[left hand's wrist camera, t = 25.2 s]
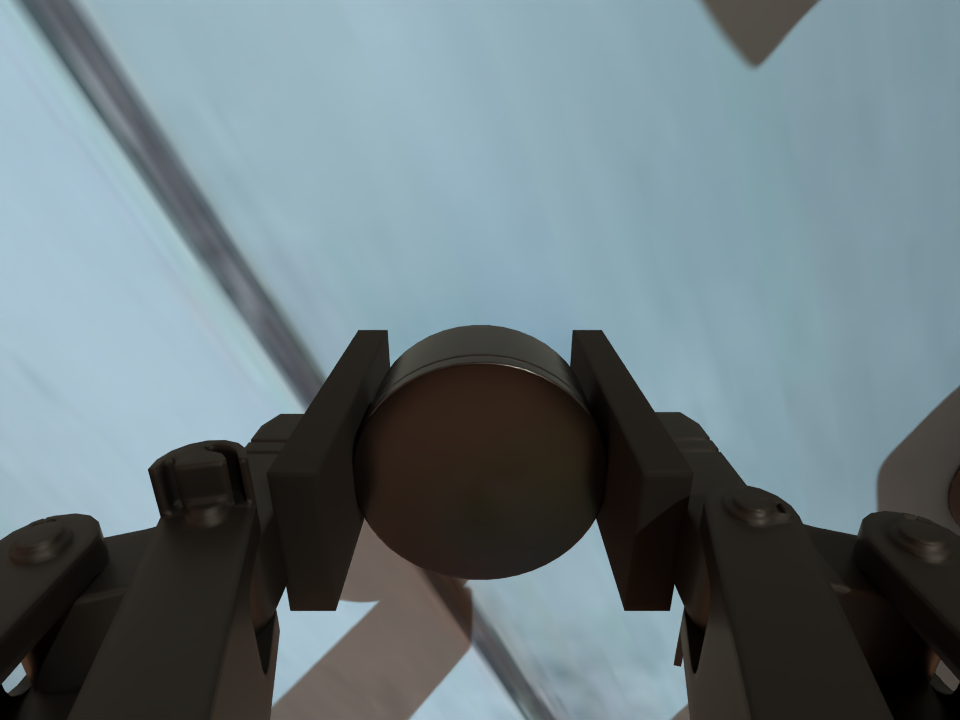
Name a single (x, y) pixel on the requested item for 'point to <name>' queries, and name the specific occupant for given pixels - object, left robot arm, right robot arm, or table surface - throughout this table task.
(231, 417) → the table surface
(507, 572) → the lid
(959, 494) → the dark brown cylinder
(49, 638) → the left robot arm
